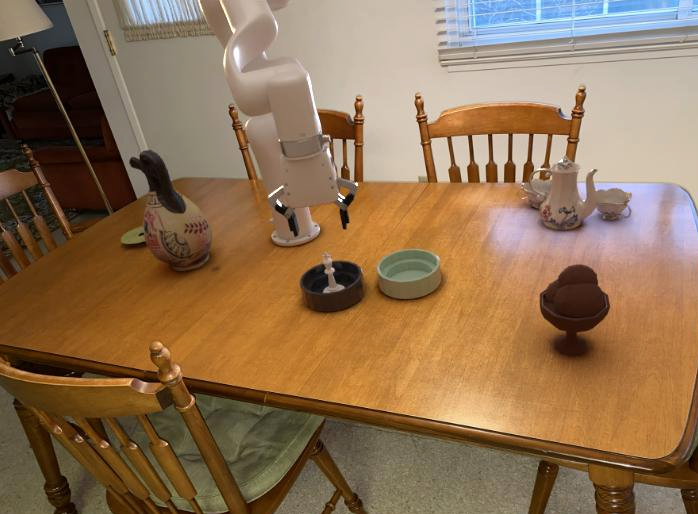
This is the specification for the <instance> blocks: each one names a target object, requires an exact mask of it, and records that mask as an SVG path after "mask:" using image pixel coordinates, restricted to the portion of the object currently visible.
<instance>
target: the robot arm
mask: <svg viewBox="0 0 698 514" xmlns="http://www.w3.org/2000/svg"><path fill="white" fill-rule="evenodd" d="M197 1H198V4H199V7H200V10H201V13H202V14H203V17H204V19H205V21H206V23H207V25H208V26H209V28H210V30H211V31H212V33H213V34H214V35H215V37H216V39H217V40H218V41H219V43H220V44H221V46H222V48H223V50H224V55H223V71H224V75H225V79H226V81H227V85H228V87H229V90H230V92H231V94H232V98H233V100H234V103H235V105H236V106H237V109H238V110H239V111H240V113H242V114H243V115H245V117H250V118H248V120H247V121H246V122H245V126H244V132H245V136H246V139H247V142H248V144H249V147H250V149H251V151H252V154H253V156H254V158H255V161H256V164H257V167H258V171H259V173H260V174H259V175H260V178H261V180H262V184H263V188H264V191H265V195H266V198H267V200H266V201H267V202H268V206H269V209H270V214H271V218H270V219H269V220H268V222H269V223H270V224H272V225H273V227H274V230H273V232H272V233H271V240H272V242H273V243H274V244H275V245H278V246H280V247H294V246H299V245H300V246H301V245H303V244H307V243H309V242H311V241H313V240H315V238H316V237H318V236H319V234H320V232H321V229H320V225H319V224H318V222H315V221H313V220H312V219H313V218H312V215H311V211H310V207H317V206H323V205H329V204H334V205H336V206H337V207H338V208H339V217H340V221H341V227H342V230H344V231H347V230H348V224H351V223H350V222H351V221H350V215H349V210H348V209H349V207H350V205H351V204H352V203H353V201H354V200H355V197H356V194H357V191H358V188H359V187H358V186H359V185H358V182H355V181H352V180H349V179H346V178H343V177H339V176H338V174H337V170H336V166H335V163H334V160H333V156H332V154H331V153H332V152H331V151H330V149H329V147H328V146H327V145H326V144H327V143H331V136H330V134H323V133H324V132H323V131H322V125H321V121H320V117H319V114H318V109H317V107H316V103H315V98H314V94H313V93H314V92H313V86H312V80H311V76H310V74H309V72H308V71H307V70H306V69H305V68H304V67H303V65H302V64H301V62H300V61H299V60H298V59H297V58H296V57H294V56H281V57H277V58H273V59H269V58H268V57H267V54H266V51H267V50H268V49H269V48H270V47H272V46H273V44H274V43H275V41H276V39H277V37H278V33H279V27H278V23H277V20H276V18H275V16H274V14H273V12H278V11H280V10H282V9H285V8H287V7H288V6H289V5H290V4H291V2H292V0H197ZM341 188H345V189H347V190H348V193H347V194H346V196H345V197H344V196H343V195H341V194H340V192H341Z"/></svg>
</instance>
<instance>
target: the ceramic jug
mask: <svg viewBox="0 0 698 514" xmlns="http://www.w3.org/2000/svg"><path fill="white" fill-rule="evenodd" d="M138 157H139V158H137V157H136V156H131V157H130V158H129V162H128V163H129V165H130V167H131V169H135V170H137V171H141V172H142V173H143V175H144V176H145V178H146V181H147V184H148V195H147V199H146V202H145V208H144V213H143V219H142V220H143V221H142V224H143V225H142V226H143V228H144V237H145V240H146V241H145V244H146V245H147V248H148V250H149V251H150V253H151V254H152V255H153V256H154V258H155V259H157V260H158V261H160V262H162V263H164V264H166V265H168V266H170V267H171V268H173V269H174V270H175V271H178V272H183V271H190V270H194V269H198V268H200V267H202V266H204V264H205V263H207V261H209V258H210V253H209V250H210V248H211V245H212V243H213V231H212V227H211V224H210V222H209V221H208V218H207V217H206V216H205V214H204V212H203V211H202V210H201V209H200V207H199V206H198V205H196V203H195V202H193V201H192V200H191V199H189V198H188V197H187V196H185V195H184V194H183V193H180V192H179V191H178V190H177V189H175V188H174V187H173V184H172V181H171V176H170V174H169V171H168V168H167V166H166V163H165V162H164V160H163V158H162V156H161V155H159V154H158V153H157V152H155V151H153V150H152V149H145V150H143V151H141V152H140V153H139V156H138Z"/></svg>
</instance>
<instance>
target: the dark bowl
mask: <svg viewBox="0 0 698 514" xmlns="http://www.w3.org/2000/svg"><path fill="white" fill-rule="evenodd" d="M331 268H334V270H335V271H334V272H333V276H334V279H335V282H336V284H339V285H342V286H344V287H345V288H344V289H342V290H339V291H335V292H330V293H323V291H324V289H325V288H326V287H328V286H329V279H328V274H326V273H325V270H326V267H325V265H324V264H323V262H321V263H319V264H317V265H314V266H312V267H311V268H309V269H307V270H306V271H305V272H304V273H303V274H302V275H301V276H300V279H299V287H300V292H301V295H302V299H303V302H304V304H305V305H306V306H307V308H309V309H311V310H313V311H317V312H337V311H340V310H344V309H347V308H349V307H352V306H354V305H355V304H356V303H358V302H359V301H360V300H361V299H362V298H363V296H364V295H365V293H366V284H365V278H364V272H363V270H362V269H363V268H362V267H361V266H360V265H359V264H357V263H354V262H352V261H350V260H332V267H331Z"/></svg>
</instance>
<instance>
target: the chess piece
mask: <svg viewBox="0 0 698 514" xmlns="http://www.w3.org/2000/svg"><path fill="white" fill-rule="evenodd" d="M331 257H332V256H331V254H328V251H324V254H322V255H321V258H322V259H323V260H322V263H323V264H324V265H325V267H326V270H325V273H326V274H328V279H329V286H328V287H326V288H325V289H324V291H323V293H330V292H335V291H339V290H342V289H344V288H345V287H344V286H342V285H339V284H336V282H335V279H334V276H333V272H334V271H335V270H334V268H331V267H332V261H333V259H332V258H331Z"/></svg>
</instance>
